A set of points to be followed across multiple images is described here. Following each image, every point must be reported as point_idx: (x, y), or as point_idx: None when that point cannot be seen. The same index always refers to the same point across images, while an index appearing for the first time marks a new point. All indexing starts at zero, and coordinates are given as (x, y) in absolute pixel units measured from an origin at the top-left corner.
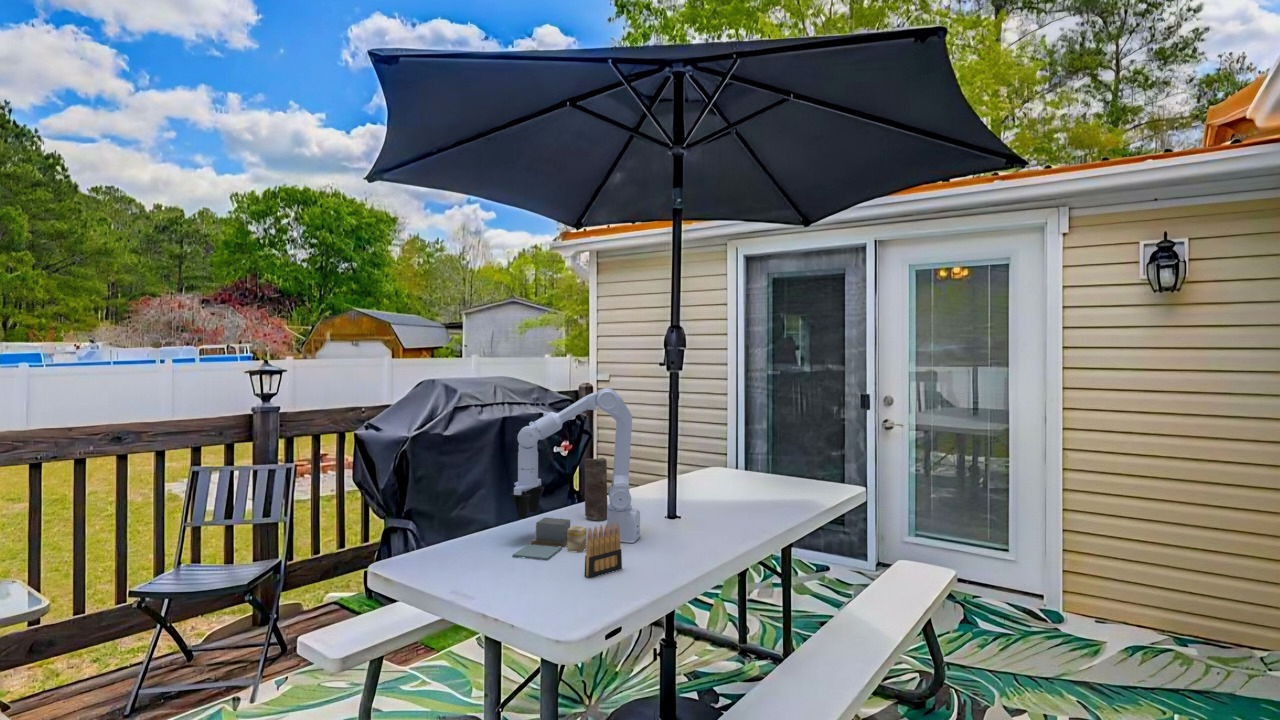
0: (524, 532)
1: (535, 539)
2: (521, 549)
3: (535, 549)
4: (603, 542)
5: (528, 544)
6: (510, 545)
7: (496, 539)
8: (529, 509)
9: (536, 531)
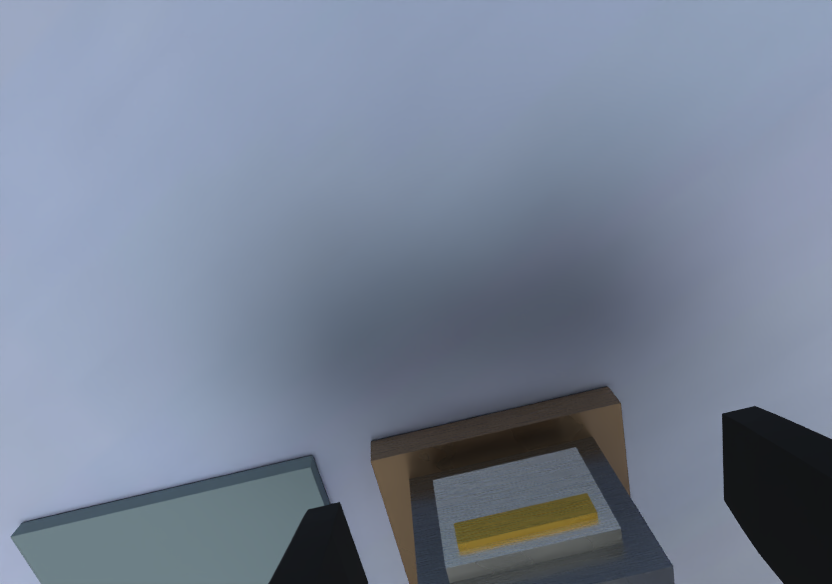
0: (687, 144)
1: (426, 461)
2: (160, 509)
3: (233, 580)
4: None
5: (306, 470)
6: (245, 317)
7: (322, 49)
8: (747, 434)
9: (416, 541)
